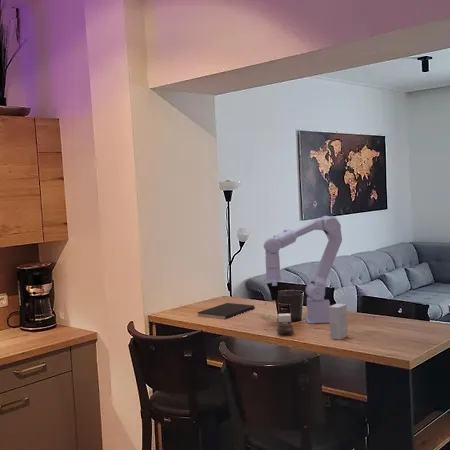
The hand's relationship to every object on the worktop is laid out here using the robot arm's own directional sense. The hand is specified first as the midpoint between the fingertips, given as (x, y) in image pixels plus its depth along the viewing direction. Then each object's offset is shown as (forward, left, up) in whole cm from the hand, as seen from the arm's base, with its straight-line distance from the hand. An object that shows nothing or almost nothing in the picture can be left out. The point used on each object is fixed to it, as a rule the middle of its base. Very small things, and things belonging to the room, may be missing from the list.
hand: (274, 300), depth 239 cm
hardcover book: (+21, -27, -11) cm, 36 cm away
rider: (-3, +14, -6) cm, 15 cm away
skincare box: (-22, +25, -10) cm, 35 cm away
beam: (-3, +13, -10) cm, 16 cm away
